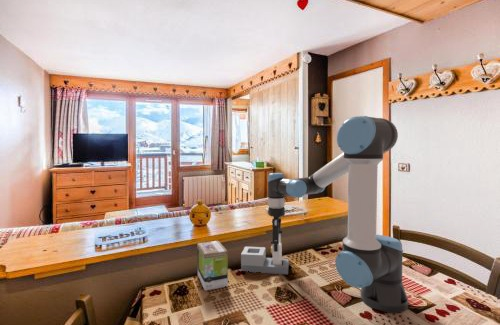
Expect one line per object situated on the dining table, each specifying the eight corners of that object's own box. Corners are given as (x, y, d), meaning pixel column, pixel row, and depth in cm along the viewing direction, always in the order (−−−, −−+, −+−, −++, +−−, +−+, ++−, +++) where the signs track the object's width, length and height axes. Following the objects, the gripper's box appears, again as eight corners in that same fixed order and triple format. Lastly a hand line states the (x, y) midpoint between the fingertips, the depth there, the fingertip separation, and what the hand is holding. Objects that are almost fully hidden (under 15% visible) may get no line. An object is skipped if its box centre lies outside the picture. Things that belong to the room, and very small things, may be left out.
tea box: (228, 286, 107) (228, 250, 107) (204, 291, 104) (203, 254, 103) (219, 271, 121) (218, 239, 121) (197, 275, 118) (196, 242, 117)
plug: (281, 271, 120) (281, 245, 120) (270, 270, 121) (270, 244, 121) (281, 267, 124) (281, 242, 124) (271, 266, 125) (271, 241, 125)
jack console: (287, 274, 117) (287, 256, 117) (241, 271, 121) (241, 254, 120) (288, 264, 127) (288, 248, 127) (245, 262, 130) (245, 246, 130)
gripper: (283, 213, 109) (284, 263, 110) (285, 201, 133) (286, 243, 134) (265, 212, 110) (266, 262, 111) (270, 201, 135) (271, 242, 135)
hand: (277, 252), depth 122 cm, fingers open, 13 cm apart
